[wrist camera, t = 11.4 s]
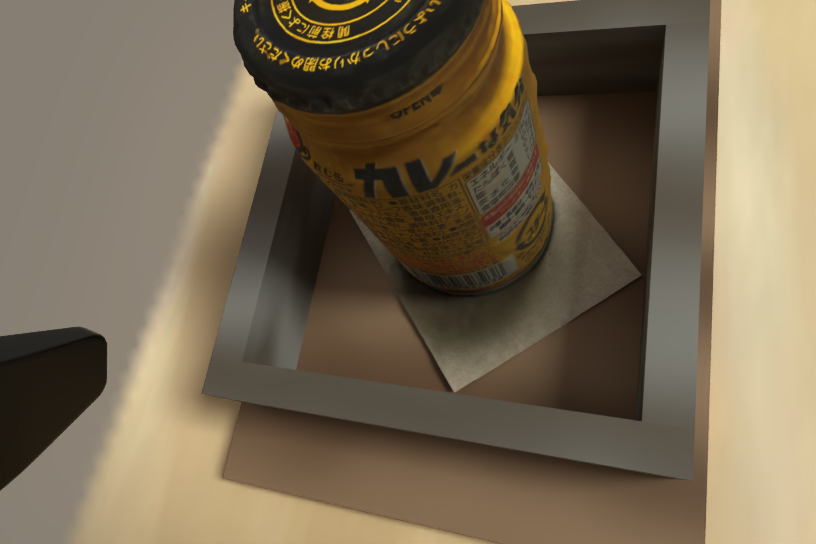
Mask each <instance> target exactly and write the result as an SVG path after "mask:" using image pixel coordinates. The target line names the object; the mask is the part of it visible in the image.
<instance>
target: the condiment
mask: <svg viewBox="0 0 816 544" xmlns="http://www.w3.org/2000/svg"><path fill="white" fill-rule="evenodd" d="M233 35H234V42H235V45H236V47H237V49H238V51H239V52H240V54H241V56H242V59H243V61H244V66H245V68H246V69H247V71H248V73H249V74H250V75H251V76H252V77H254V81H255V84H256V85H257V86H258V87H259V88H261V89H262V90H264V91H266V92H267V93H268V95H269V96H270V97H271V98H272V100H273V102H274V103H275V105H276V107H277V109H278V110H279V112H281V113H282V114H283V116H284V120H285V124H286V127H287V131H288V134H289V137H290V139H291V141H292V143H293V145H294V146H295V148H296V149H297V150H298V152H299V153H300V155H301V158H302V160H303V161H304V162H305V163H306V164H307V165H308V166H309V167H310V168H311V169H312V171H313V172H314V173H316V174H317V175H318V177H319V178H320V179H321V180H322V181H323V182H324V183H325V184H326V185H327V186H328V187H329V188H330V189H331V190H332V191H333V192H334V193H335V194H336V195H337V196H338V197H339V198H340V200H341V201H342V202H343V203H345V204H346V205H347V206H348V208H349V209H350V210H349V211H350V213H351V214H352V216H353V218H354V220H355V221H356V223H357V225H358V226H359V228H360V230H361V231H362V233H363V235H364V237H365V238H366V240H367V242H368V243H369V245H370V247H371V249H372V250H373V252H374V254H375V256H376V257H377V259H378V260H379V262H380V264H381V266H382V267H383V269H384V271H385V273H386V274H387V276H388V278H389V280H390V281H391V283H392V285H393V287H394V288H395V290H396V292H397V294H398V296H399V297H400V299H401V301H402V303H403V305H404V306H405V308H406V310H407V312H408V313H409V315H410V316H411V318H412V320H413V322H414V323H415V325H416V327H417V329H418V331H419V332H420V334H421V335H422V337H423V339H424V340H425V342H426V344H427V346H428V348H429V349H430V351H431V353H432V354H433V356H434V358H435V360H436V362H437V363H438V365H439V367H440V369H441V371H442V372H443V374H444V376H445V377H446V379H447V381H448V383H449V384H450V386H451V388H452V389H453V391H454V392H456V391H458V390H460V389H461V388H463V387H464V386H466V385H468V384H469V383H471V382H472V381H474V380H475V379H478V378H480V377H481V376H483V375H485V374H486V373H488V372H489V371H491V370H493V369H494V368H496V367H497V366H499V365H501V364H502V363H504V362H505V361H507V360H509V359H510V358H511V357H513V356H515V355H517V354H519V353H520V352H522V351H523V350H525V349H527V348H528V347H530V346H531V345H533V344H534V343H536V342H538V341H539V340H541V339H542V338H544V337H545V336H547V335H549V334H550V333H552V332H553V331H555V330H557V329H558V328H561V327H562V326H564V325H566V324H567V323H568V322H569V321H571V320H572V319H574V318H575V317H577V316H578V315H580V314H581V313H583V312H585V311H586V310H588V309H589V308H591V307H592V306H594V305H596V304H598V303H599V302H601V301H602V300H604V299H606V298H607V297H609V296H610V295H611V294H613V293H614V292H616V291H618V290H619V289H621V288H622V287H624V286H625V285H627V284H628V283H630V282H632V281H633V280H635V279H636V278H638V277H640V276H641V274H640V272H639V271H638V270H637V269H636V267H635V266H634V265H633V264H632V263H631V261H630V260H629V258H628V257H627V256H626V255H625V254H624V252H623V251H622V250H621V249H620V248H619V247H618V246H617V244H616V243H615V242H614V241H613V240H612V238H611V237H610V236H609V234H608V233H607V232H606V230H605V229H604V228H603V227H602V226H601V225H600V224H599V223H598V222H597V220H596V219H595V218H594V217H593V215H592V214H591V213H590V211H589V210H588V209H587V207H586V206H585V205H584V204H583V203H582V202H581V201H580V199H579V198H578V197H577V196H576V194H575V193H574V192H573V191H572V190H571V189H570V188H569V186H568V185H567V184H566V183H565V182H564V181H563V179H562V178H561V177H560V176H559V175H558V173H557V172H556V171H555V170H554V169H553V167H552V166H551V165H550V164H549V162H548V159H547V154H548V149H549V148H548V145H547V143H546V140H545V136H544V131H543V128H542V125H541V121H540V116H539V110H538V103H537V80H536V77H535V74H534V73H533V72H532V70H531V67H530V64H529V58H528V50H527V42H526V40H525V38H524V36H523V34H522V27H521V25H520V22H519V19H518V17H517V15H516V14H515V12H514V11H513V9H512V7H511V5H510V4H509V2H508V1H507V0H235V2H234V28H233ZM550 252H551V255H550V256H549V253H550ZM549 264H551V265H550V267H549Z"/></svg>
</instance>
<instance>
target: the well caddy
mask: <svg viewBox="0 0 816 544" xmlns="http://www.w3.org/2000/svg"><path fill="white" fill-rule="evenodd" d="M511 7H512V9H513V11H514V12H515V14H516V15H517V17H518V19H519V22H520V25H521V27H522V34H523V36H524V38H525V40H526V42H527V50H528V58H529V64H530V67H531V70H532V72H533V73H534V74H535V77H536V80H537V103H538V110H539V116H540V121H541V125H542V128H543V131H544V136H545V140H546V143H547V145H548V148H549V149H548V154H547V159H548V162H549V164H550V165H551V166H552V167H553V169H554V170H555V171H556V172H557V173H558V175H559V176H560V177H561V178H562V179H563V181H564V182H565V183H566V184H567V185H568V186H569V188H570V189H571V190H572V191H573V192H574V193H575V194H576V196H577V197H578V198H579V199H580V201H581V202H582V203H583V204H584V205H585V206H586V207H587V209H588V210H589V211H590V213H591V214H592V215H593V217H594V218H595V219H596V220H597V222H598V223H599V224H600V225H601V226H602V227H603V228H604V229H605V230H606V232H607V233H608V234H609V236H610V237H611V238H612V240H613V241H614V242H615V243H616V244H617V246H618V247H619V248H620V249H621V250H622V251H623V252H624V254H625V255H626V256H627V257H628V258H629V260H630V261H631V263H632V264H633V265H634V266H635V267H636V269H637V270H638V271H639V272H640V274H641V276H640V277H638V278H636V279H635V280H633V281H632V282H630V283H628V284H627V285H625V286H624V287H622V288H621V289H619V290H618V291H616V292H614V293H613V294H611V295H610V296H609V297H607V298H606V299H604V300H602V301H601V302H599V303H598V304H596V305H594V306H592V307H591V308H589V309H588V310H586V311H585V312H583V313H581V314H580V315H578V316H577V317H575V318H574V319H572V320H571V321H569V322H568V323H567V324H566V325H564V326H562V327H561V328H558V329H557V330H555V331H553V332H552V333H550V334H549V335H547V336H545V337H544V338H542V339H541V340H539V341H538V342H536V343H534V344H533V345H531V346H530V347H528V348H527V349H525V350H523V351H522V352H520V353H519V354H517V355H515V356H513V357H511V358H510V359H509V360H507V361H505V362H504V363H502V364H501V365H499V366H497V367H496V368H494V369H493V370H491V371H489V372H488V373H486V374H485V375H483V376H481V377H480V378H478V379H475V380H474V381H472V382H471V383H469V384H468V385H466V386H464V387H463V388H461V389H460V390H458V391H456V392H454V391H453V389H452V388H451V386H450V384H449V383H448V381H447V379H446V377H445V376H444V374H443V372H442V371H441V369H440V367H439V365H438V363H437V362H436V360H435V358H434V356H433V354H432V353H431V351H430V349H429V348H428V346H427V344H426V342H425V340H424V339H423V337H422V335H421V334H420V332H419V331H418V329H417V327H416V325H415V323H414V322H413V320H412V318H411V316H410V315H409V313H408V312H407V310H406V308H405V306H404V305H403V303H402V301H401V299H400V297H399V296H398V294H397V292H396V290H395V288H394V287H393V285H392V283H391V281H390V280H389V278H388V276H387V274H386V273H385V271H384V269H383V267H382V266H381V264H380V262H379V260H378V259H377V257H376V256H375V254H374V252H373V250H372V249H371V247H370V245H369V243H368V242H367V240H366V238H365V237H364V235H363V233H362V231H361V230H360V228H359V226H358V225H357V223H356V221H355V220H354V218H353V216H352V214H351V213H350V211H349V210H350V209H349V208H348V206H347V205H346V204H345V203H343V202H342V201H341V200H340V198H339V197H338V196H337V195H336V194H335V193H334V192H333V191H332V190H331V189H330V188H329V187H328V186H327V185H326V184H325V183H324V182H323V181H322V180H321V179H320V178H319V177H318V175H317V174H316V173H314V172H313V171H312V169H311V168H310V167H309V166H308V165H307V164H306V163H305V162H304V161H303V160H302V158H301V155H300V153H299V152H298V150H297V149H296V148H295V146H294V145H293V143H292V141H291V139H290V137H289V134H288V131H287V127H286V124H285V120H284V116H283V114H282V113H281V112H279V110H277V113H276V117H275V121H274V125H273V128H272V132H271V136H270V139H269V143H268V147H267V151H266V154H265V158H264V162H263V166H262V169H261V173H260V177H259V181H258V184H257V188H256V192H255V196H254V199H253V203H252V207H251V211H250V214H249V218H248V222H247V226H246V229H245V233H244V237H243V241H242V244H241V248H240V252H239V256H238V259H237V263H236V267H235V271H234V274H233V278H232V282H231V286H230V289H229V293H228V297H227V300H226V304H225V308H224V312H223V315H222V319H221V323H220V327H219V330H218V334H217V338H216V342H215V345H214V349H213V353H212V357H211V360H210V364H209V368H208V372H207V375H206V379H205V383H204V387H203V390H202V394H205V395H210V396H215V397H220V398H226V399H231V400H236V401H241V402H242V403H241V407H240V411H239V415H238V420H237V424H236V428H235V432H234V436H233V440H232V444H231V448H230V452H229V456H228V460H227V464H226V468H225V472H224V476H223V478H224V479H228V480H233V481H237V482H241V483H245V484H250V485H254V486H258V487H262V488H267V489H271V490H275V491H279V492H284V493H288V494H292V495H296V496H301V497H305V498H309V499H313V500H318V501H322V502H326V503H331V504H335V505H339V506H343V507H348V508H352V509H356V510H360V511H365V512H369V513H373V514H377V515H382V516H386V517H390V518H394V519H399V520H403V521H407V522H412V523H416V524H420V525H424V526H429V527H433V528H437V529H441V530H446V531H450V532H454V533H458V534H463V535H467V536H471V537H475V538H480V539H484V540H488V541H492V542H497V543H501V544H705V529H706V495H707V462H708V429H709V395H710V362H711V329H712V295H713V262H714V229H715V195H716V162H717V129H718V95H719V62H720V29H721V0H577V1H566V2H554V3H543V4H531V5H520V6H511ZM550 255H551V252H550V253H549V256H550ZM550 265H551V264H549V267H550Z"/></svg>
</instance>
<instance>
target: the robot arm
mask: <svg viewBox="0 0 816 544" xmlns="http://www.w3.org/2000/svg"><path fill="white" fill-rule="evenodd" d="M106 382H107V342H106V340H105V338H104V337H103V336H102V335H100V334H98V333H95V332H93V331H91V330H88V329H86V328H83V327H71V328H63V329H55V330H47V331H39V332H31V333H23V334H15V335H8V336H0V490H2V489H3V488H4V487H5V486H6V485H8V484H9V483H10V482H11V481H12V480H14V479H15V478H16V477H17V476H18V475H19V474H20V473H22V472H23V471H24V469H26V468H27V467H28V466H29V465H30V464H31V463H32V462H33V461H34V460H35V459H36V458H37V457H38V456H39V455H40V454H41V453H42V452H43V451H44V450H45V449H46V448H47V447H48V446H49V445H50V444H51V443H53V442H54V440H55V439H57V437H59V436H60V434H62V433H63V432H64V431H65V430H66V429H67V428H68V427H69V426H70V425H71V424H72V423H73V422H74V421H75V420H76V419H77V418H78V417H79V416H80V415H81V414H82V413H83V412H84V411H85V410H86V409H87V408H88V407H89V406H90V405H91V404H92V403H93V402H94V401H95V400H96V399H97V398H98V397H99V396H100V394H101V393H102V392H103V390H104V388H105V385H106Z"/></svg>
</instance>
